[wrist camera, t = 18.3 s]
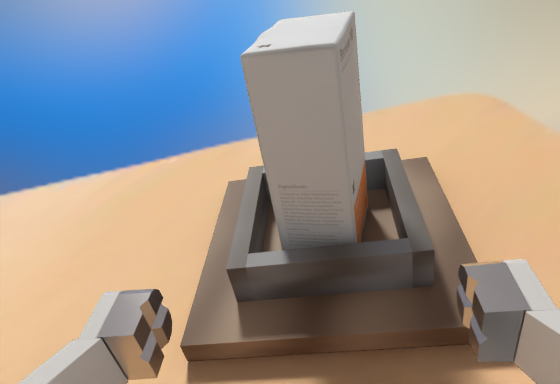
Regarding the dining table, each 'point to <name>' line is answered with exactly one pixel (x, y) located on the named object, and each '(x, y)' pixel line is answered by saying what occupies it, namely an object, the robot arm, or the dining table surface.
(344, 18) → the skincare box
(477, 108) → the dining table surface
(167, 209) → the dining table surface
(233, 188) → the collar stand
